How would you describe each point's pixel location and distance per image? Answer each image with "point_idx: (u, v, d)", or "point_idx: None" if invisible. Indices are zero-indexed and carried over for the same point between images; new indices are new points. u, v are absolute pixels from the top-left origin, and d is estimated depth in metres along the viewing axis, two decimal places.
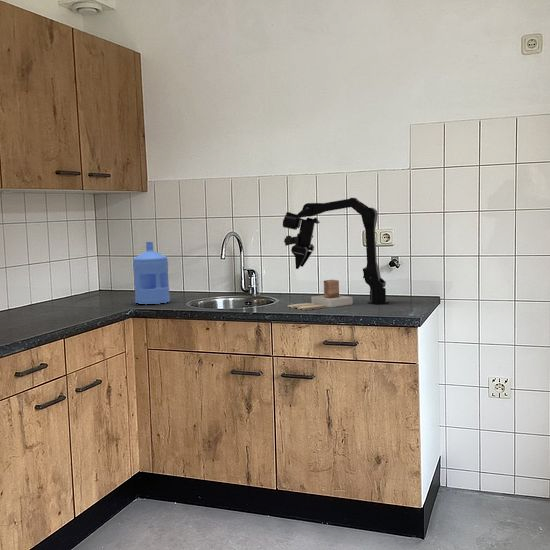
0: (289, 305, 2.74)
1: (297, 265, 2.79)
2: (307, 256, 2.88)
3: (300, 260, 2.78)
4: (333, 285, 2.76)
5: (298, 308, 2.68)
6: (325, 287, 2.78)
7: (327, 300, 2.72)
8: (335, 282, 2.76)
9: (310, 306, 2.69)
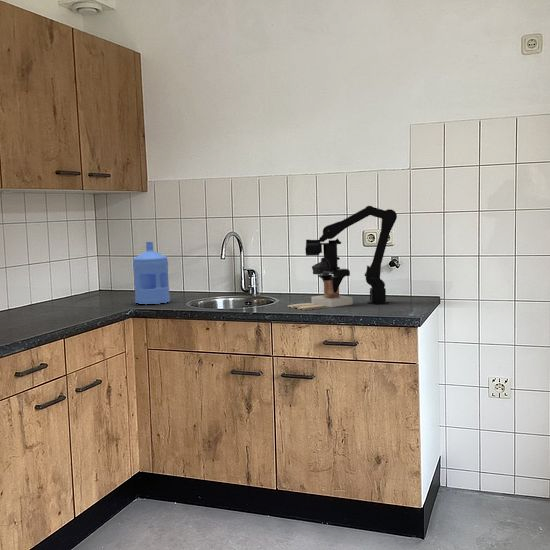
0: (289, 305, 2.74)
1: (335, 289, 2.75)
2: (330, 279, 2.81)
3: (338, 283, 2.75)
4: None
5: (298, 308, 2.68)
6: (325, 287, 2.78)
7: (327, 300, 2.72)
8: None
9: (310, 306, 2.69)
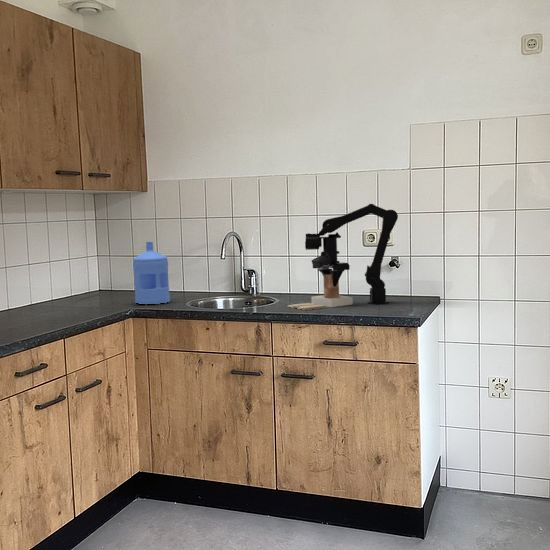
0: (289, 305, 2.74)
1: (335, 283, 2.75)
2: (330, 273, 2.80)
3: (338, 277, 2.75)
4: None
5: (298, 308, 2.68)
6: (324, 281, 2.77)
7: (327, 300, 2.72)
8: None
9: (310, 306, 2.69)
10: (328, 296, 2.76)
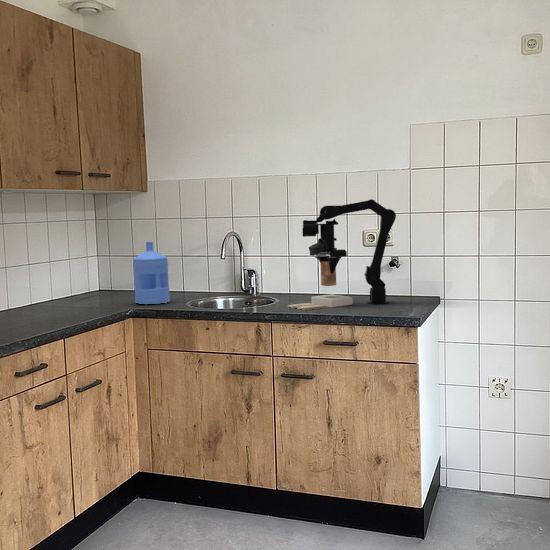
0: (289, 305, 2.74)
1: (332, 270, 2.74)
2: None
3: (335, 264, 2.73)
4: None
5: (298, 308, 2.68)
6: (321, 268, 2.76)
7: (327, 300, 2.72)
8: None
9: (310, 306, 2.69)
10: (325, 283, 2.75)
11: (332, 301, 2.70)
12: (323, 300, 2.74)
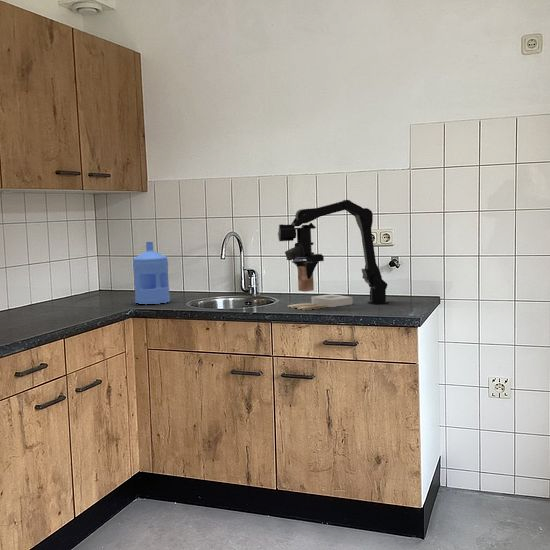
0: (289, 305, 2.74)
1: (309, 275, 2.68)
2: (304, 265, 2.73)
3: (312, 268, 2.67)
4: None
5: (298, 308, 2.68)
6: (298, 273, 2.70)
7: (327, 300, 2.72)
8: None
9: (310, 306, 2.69)
10: (302, 288, 2.69)
11: (332, 301, 2.70)
12: (323, 300, 2.74)
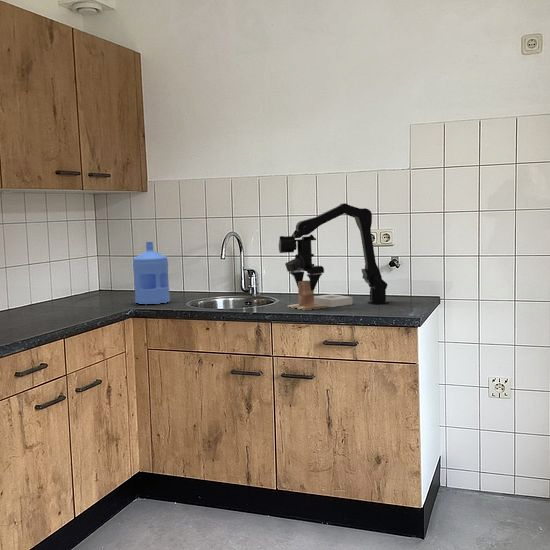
0: (289, 305, 2.74)
1: (313, 287, 2.66)
2: (302, 276, 2.75)
3: (315, 280, 2.66)
4: (308, 286, 2.69)
5: (298, 308, 2.68)
6: (299, 288, 2.71)
7: (327, 300, 2.72)
8: (309, 283, 2.69)
9: (310, 306, 2.69)
10: (302, 303, 2.70)
11: (332, 301, 2.70)
12: (323, 300, 2.74)
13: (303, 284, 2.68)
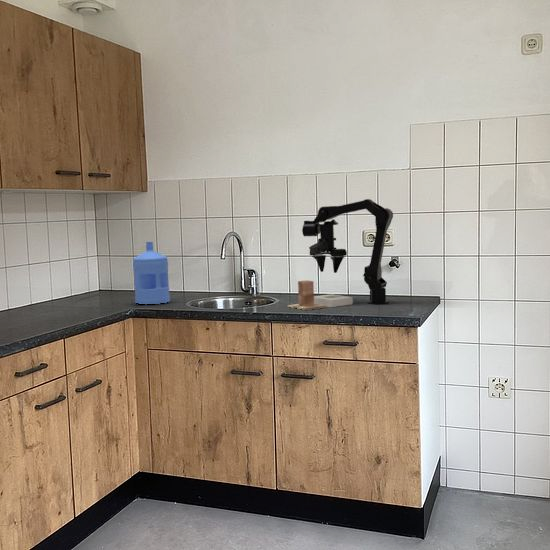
0: (289, 305, 2.74)
1: (336, 269, 2.79)
2: (324, 260, 2.88)
3: (338, 263, 2.79)
4: (308, 286, 2.69)
5: (298, 308, 2.68)
6: (299, 288, 2.71)
7: (327, 300, 2.72)
8: (309, 283, 2.69)
9: (310, 306, 2.69)
10: (302, 303, 2.70)
11: (332, 301, 2.70)
12: (323, 300, 2.74)
13: (303, 284, 2.68)
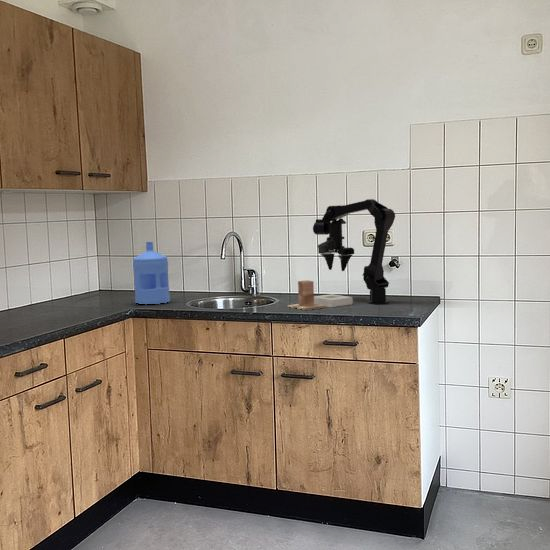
0: (289, 305, 2.74)
1: (343, 267, 2.84)
2: (332, 258, 2.93)
3: (346, 261, 2.84)
4: (308, 286, 2.69)
5: (298, 308, 2.68)
6: (299, 288, 2.71)
7: (327, 300, 2.72)
8: (309, 283, 2.69)
9: (310, 306, 2.69)
10: (302, 303, 2.70)
11: (332, 301, 2.70)
12: (323, 300, 2.74)
13: (303, 284, 2.68)
